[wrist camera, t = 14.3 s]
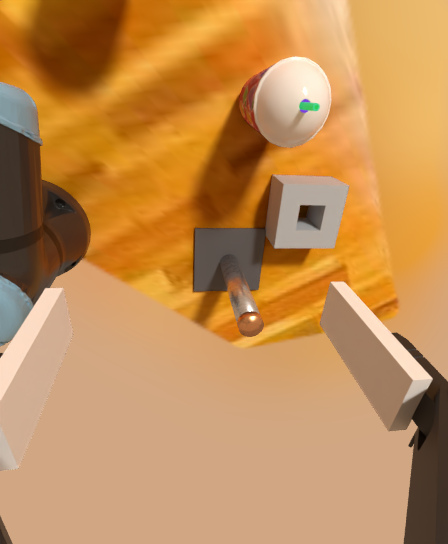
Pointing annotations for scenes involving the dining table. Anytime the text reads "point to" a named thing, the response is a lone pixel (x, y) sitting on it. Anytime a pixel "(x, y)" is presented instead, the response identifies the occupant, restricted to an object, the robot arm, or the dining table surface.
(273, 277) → the dining table surface
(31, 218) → the robot arm
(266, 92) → the smoothie
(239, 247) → the mat
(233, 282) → the peg
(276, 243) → the eye block
